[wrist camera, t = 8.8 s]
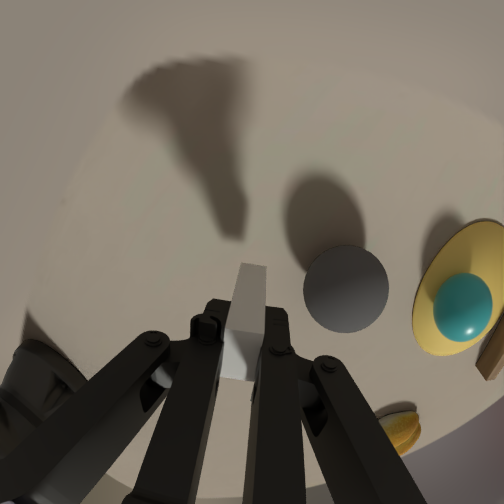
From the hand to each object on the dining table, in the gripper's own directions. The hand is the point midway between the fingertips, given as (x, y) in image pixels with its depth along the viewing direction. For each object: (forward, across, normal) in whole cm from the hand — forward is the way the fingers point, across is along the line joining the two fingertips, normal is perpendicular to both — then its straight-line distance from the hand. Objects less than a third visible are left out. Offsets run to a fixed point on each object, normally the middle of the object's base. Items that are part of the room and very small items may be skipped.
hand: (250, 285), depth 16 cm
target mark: (+3, +20, 0) cm, 21 cm away
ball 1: (0, +6, 0) cm, 6 cm away
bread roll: (+3, +21, -20) cm, 29 cm away
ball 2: (0, +17, 0) cm, 17 cm away
